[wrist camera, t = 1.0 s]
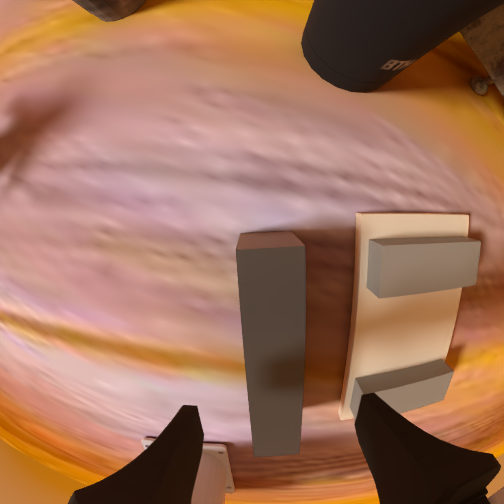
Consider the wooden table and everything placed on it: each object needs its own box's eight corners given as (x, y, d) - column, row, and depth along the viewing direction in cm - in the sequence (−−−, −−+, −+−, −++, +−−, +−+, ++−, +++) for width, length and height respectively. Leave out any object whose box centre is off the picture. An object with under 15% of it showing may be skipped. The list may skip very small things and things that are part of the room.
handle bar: (291, 407, 20) (299, 453, 15) (253, 410, 20) (254, 457, 15) (290, 230, 17) (305, 245, 12) (240, 233, 17) (235, 249, 12)
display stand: (427, 392, 20) (442, 411, 17) (338, 412, 20) (346, 437, 17) (460, 213, 17) (486, 218, 14) (355, 212, 17) (375, 217, 14)
